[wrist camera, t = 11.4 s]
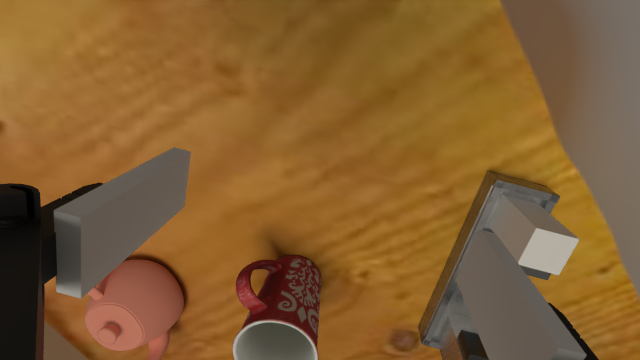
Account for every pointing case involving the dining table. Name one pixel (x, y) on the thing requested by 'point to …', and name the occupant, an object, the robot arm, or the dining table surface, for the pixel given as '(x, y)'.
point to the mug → (280, 311)
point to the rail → (447, 302)
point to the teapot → (135, 307)
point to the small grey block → (532, 236)
